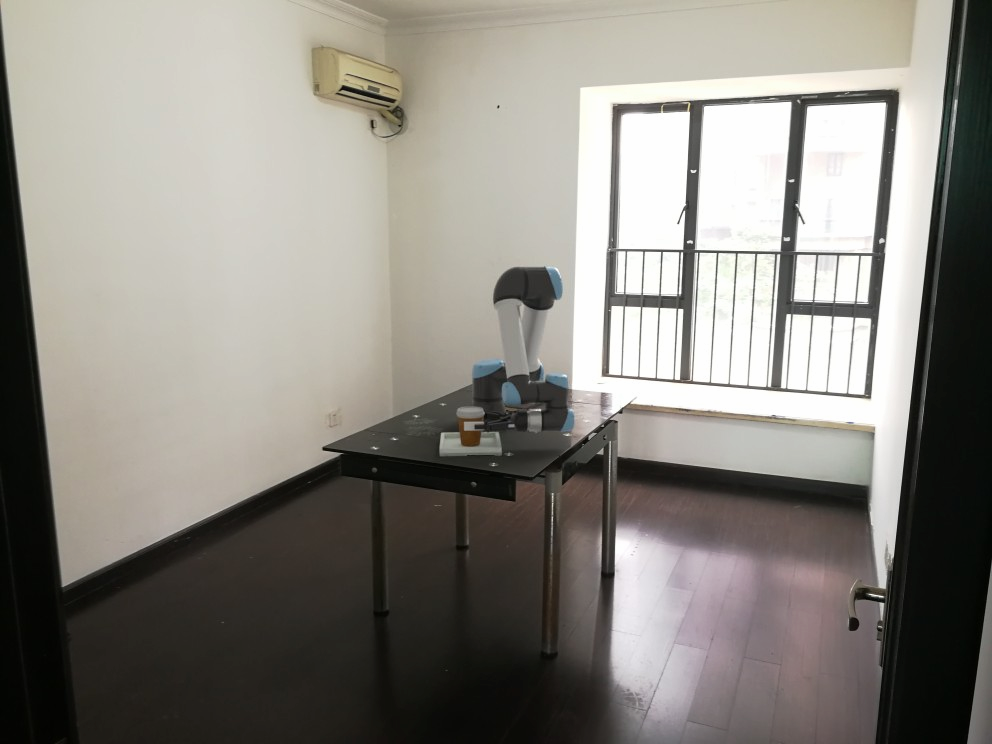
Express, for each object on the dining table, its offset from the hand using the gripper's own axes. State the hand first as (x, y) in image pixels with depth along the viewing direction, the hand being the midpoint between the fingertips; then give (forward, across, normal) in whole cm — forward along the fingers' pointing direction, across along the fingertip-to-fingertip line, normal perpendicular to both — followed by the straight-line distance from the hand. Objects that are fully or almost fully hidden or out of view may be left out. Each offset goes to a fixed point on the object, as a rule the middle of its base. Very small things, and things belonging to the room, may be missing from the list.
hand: (463, 421), depth 250 cm
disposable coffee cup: (-2, 0, -8) cm, 8 cm away
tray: (-2, 0, -9) cm, 9 cm away
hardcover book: (-23, +62, -10) cm, 67 cm away
